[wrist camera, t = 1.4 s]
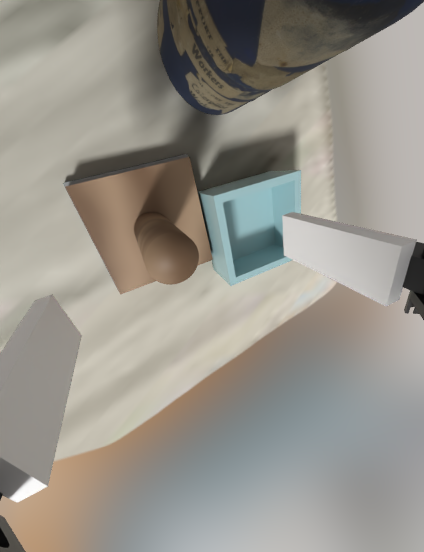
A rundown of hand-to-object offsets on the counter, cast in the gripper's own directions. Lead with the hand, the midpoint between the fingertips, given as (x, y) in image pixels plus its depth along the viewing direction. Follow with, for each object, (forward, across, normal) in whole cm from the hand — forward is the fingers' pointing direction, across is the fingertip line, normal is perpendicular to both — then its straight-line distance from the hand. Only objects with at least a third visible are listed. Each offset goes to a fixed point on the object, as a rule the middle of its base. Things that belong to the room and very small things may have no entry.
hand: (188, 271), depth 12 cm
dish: (+14, +10, -3) cm, 17 cm away
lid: (+13, 0, 0) cm, 13 cm away
